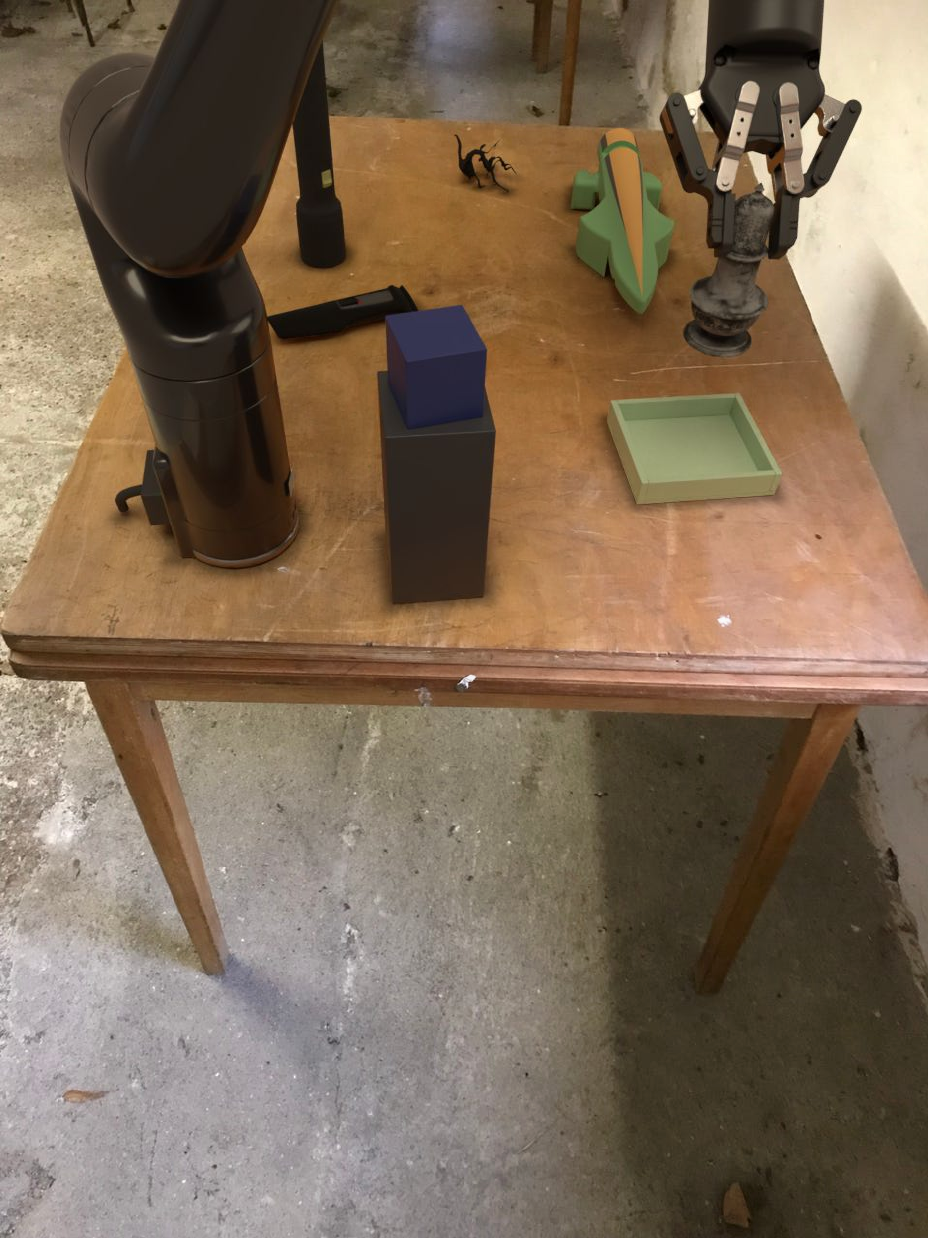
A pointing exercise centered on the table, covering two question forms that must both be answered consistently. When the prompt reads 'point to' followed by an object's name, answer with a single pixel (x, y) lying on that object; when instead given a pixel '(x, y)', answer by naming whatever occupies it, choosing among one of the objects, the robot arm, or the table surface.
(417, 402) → the navy block
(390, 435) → the dark stand
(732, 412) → the pale tray
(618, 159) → the toy spaceship
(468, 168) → the creature
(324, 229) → the flashlight
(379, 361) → the table surface
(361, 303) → the electric trimmer
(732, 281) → the dark grey chess piece
